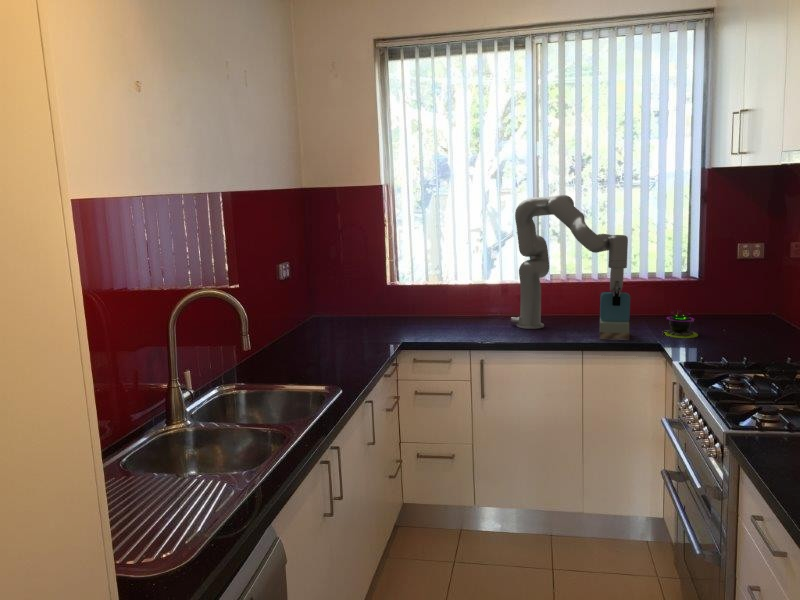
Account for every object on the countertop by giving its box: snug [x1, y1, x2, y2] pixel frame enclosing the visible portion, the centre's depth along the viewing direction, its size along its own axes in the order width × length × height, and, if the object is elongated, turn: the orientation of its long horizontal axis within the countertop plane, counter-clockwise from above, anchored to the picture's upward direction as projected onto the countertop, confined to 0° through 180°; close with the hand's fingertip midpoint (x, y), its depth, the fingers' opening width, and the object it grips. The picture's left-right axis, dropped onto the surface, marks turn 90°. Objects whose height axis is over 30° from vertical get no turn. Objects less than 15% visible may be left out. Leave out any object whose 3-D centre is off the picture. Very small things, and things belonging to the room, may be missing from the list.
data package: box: [599, 291, 631, 322], centre depth 286 cm, size 12×4×12 cm, turn 77°
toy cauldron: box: [664, 309, 699, 339], centre depth 290 cm, size 15×15×11 cm
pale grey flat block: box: [598, 317, 630, 333], centre depth 288 cm, size 12×13×4 cm
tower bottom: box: [599, 326, 631, 341], centre depth 288 cm, size 12×13×4 cm
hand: (616, 303), depth 286 cm, fingers open, 9 cm apart
